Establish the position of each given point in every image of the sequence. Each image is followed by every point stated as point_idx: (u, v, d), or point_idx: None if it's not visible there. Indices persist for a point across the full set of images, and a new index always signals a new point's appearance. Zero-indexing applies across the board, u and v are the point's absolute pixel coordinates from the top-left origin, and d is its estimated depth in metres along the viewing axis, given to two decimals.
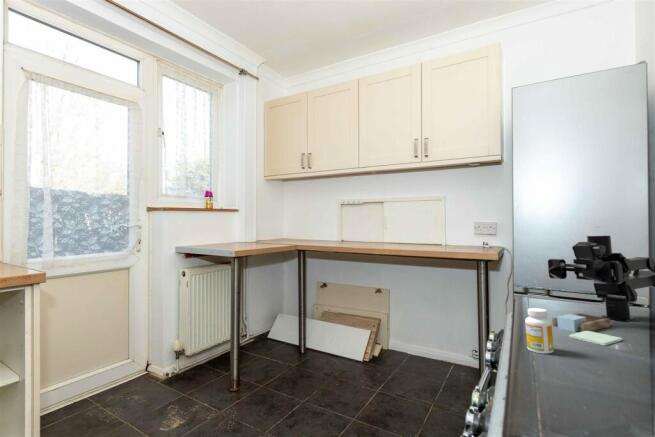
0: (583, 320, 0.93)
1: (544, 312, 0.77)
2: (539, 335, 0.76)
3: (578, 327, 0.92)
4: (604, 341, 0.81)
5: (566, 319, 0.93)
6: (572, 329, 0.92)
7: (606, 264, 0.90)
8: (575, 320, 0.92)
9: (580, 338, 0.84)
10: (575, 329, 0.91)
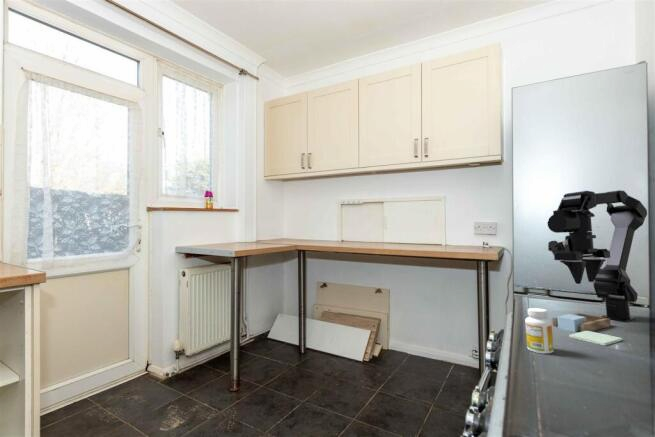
0: (583, 320, 0.93)
1: (544, 312, 0.77)
2: (539, 335, 0.76)
3: (579, 327, 0.92)
4: (604, 341, 0.81)
5: (566, 319, 0.93)
6: (572, 329, 0.92)
7: (562, 262, 0.99)
8: (575, 320, 0.92)
9: (580, 338, 0.84)
10: (575, 329, 0.91)
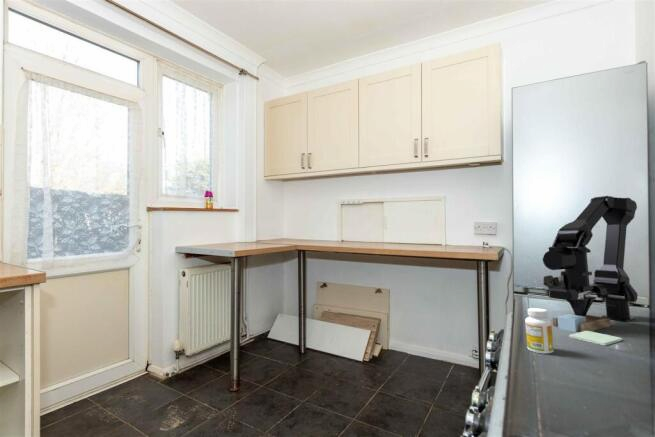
0: (583, 320, 0.93)
1: (544, 312, 0.77)
2: (539, 335, 0.76)
3: (579, 327, 0.92)
4: (604, 341, 0.81)
5: (567, 319, 0.93)
6: (573, 329, 0.92)
7: None
8: (576, 320, 0.92)
9: (580, 338, 0.84)
10: (576, 329, 0.91)
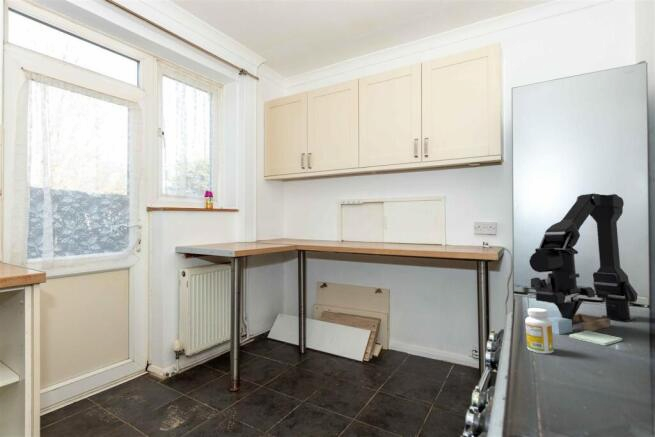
0: (569, 323, 0.91)
1: (544, 312, 0.77)
2: (539, 335, 0.76)
3: (563, 330, 0.90)
4: (604, 341, 0.81)
5: (551, 322, 0.91)
6: (556, 332, 0.90)
7: None
8: (560, 323, 0.90)
9: (580, 338, 0.84)
10: (560, 332, 0.89)
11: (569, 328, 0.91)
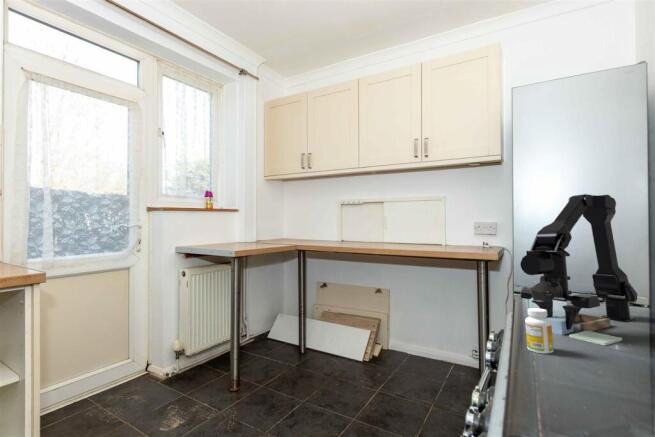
0: None
1: (544, 312, 0.77)
2: (539, 335, 0.76)
3: (566, 330, 0.90)
4: (604, 341, 0.81)
5: (553, 321, 0.91)
6: (559, 332, 0.89)
7: (572, 309, 0.87)
8: (562, 322, 0.89)
9: (580, 338, 0.84)
10: (562, 331, 0.89)
11: None
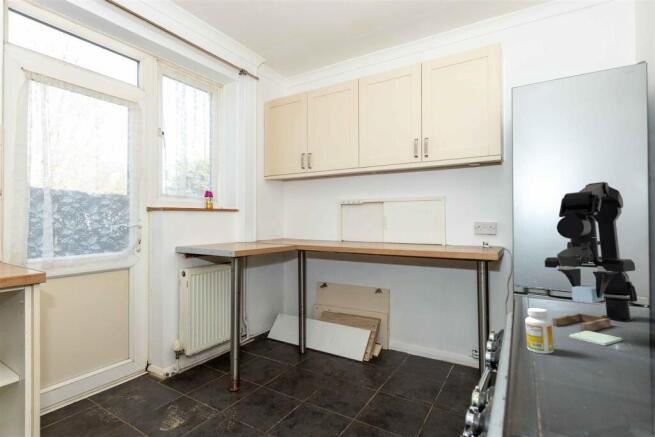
0: None
1: (544, 312, 0.77)
2: (539, 335, 0.76)
3: (596, 298, 0.83)
4: (604, 341, 0.81)
5: (582, 289, 0.84)
6: (589, 299, 0.83)
7: (604, 274, 0.80)
8: (592, 289, 0.83)
9: (580, 338, 0.84)
10: (593, 299, 0.82)
11: None
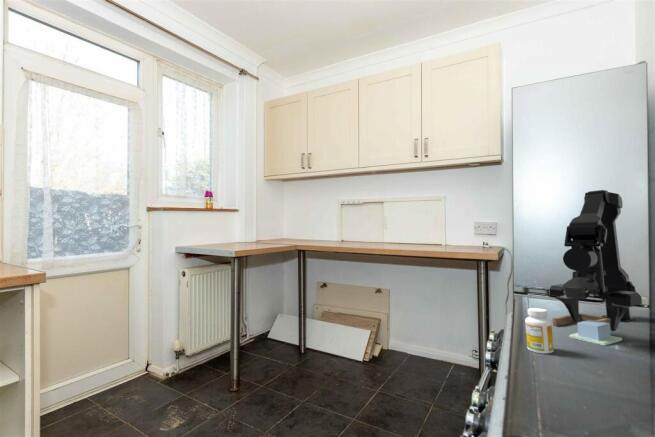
0: (607, 327, 0.83)
1: (544, 312, 0.77)
2: (539, 335, 0.76)
3: (602, 335, 0.82)
4: (604, 341, 0.81)
5: (588, 326, 0.83)
6: (596, 337, 0.82)
7: (619, 308, 0.78)
8: (599, 327, 0.82)
9: (580, 338, 0.84)
10: (599, 337, 0.81)
11: (607, 332, 0.83)
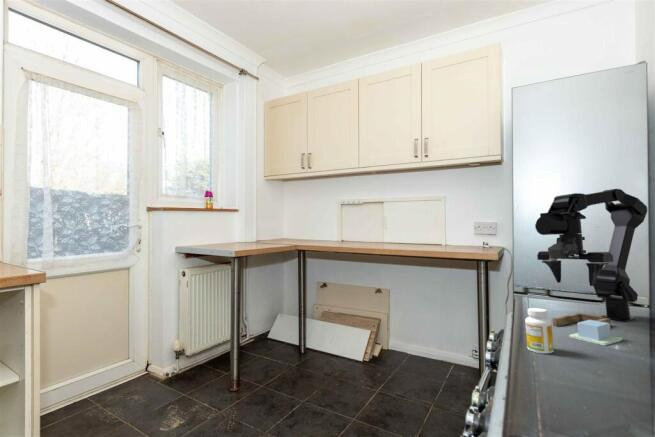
0: (607, 327, 0.83)
1: (544, 312, 0.77)
2: (539, 335, 0.76)
3: (602, 335, 0.82)
4: (604, 341, 0.81)
5: (588, 326, 0.83)
6: (595, 337, 0.82)
7: (595, 265, 0.93)
8: (599, 327, 0.82)
9: (580, 338, 0.84)
10: (599, 337, 0.81)
11: (607, 332, 0.83)
